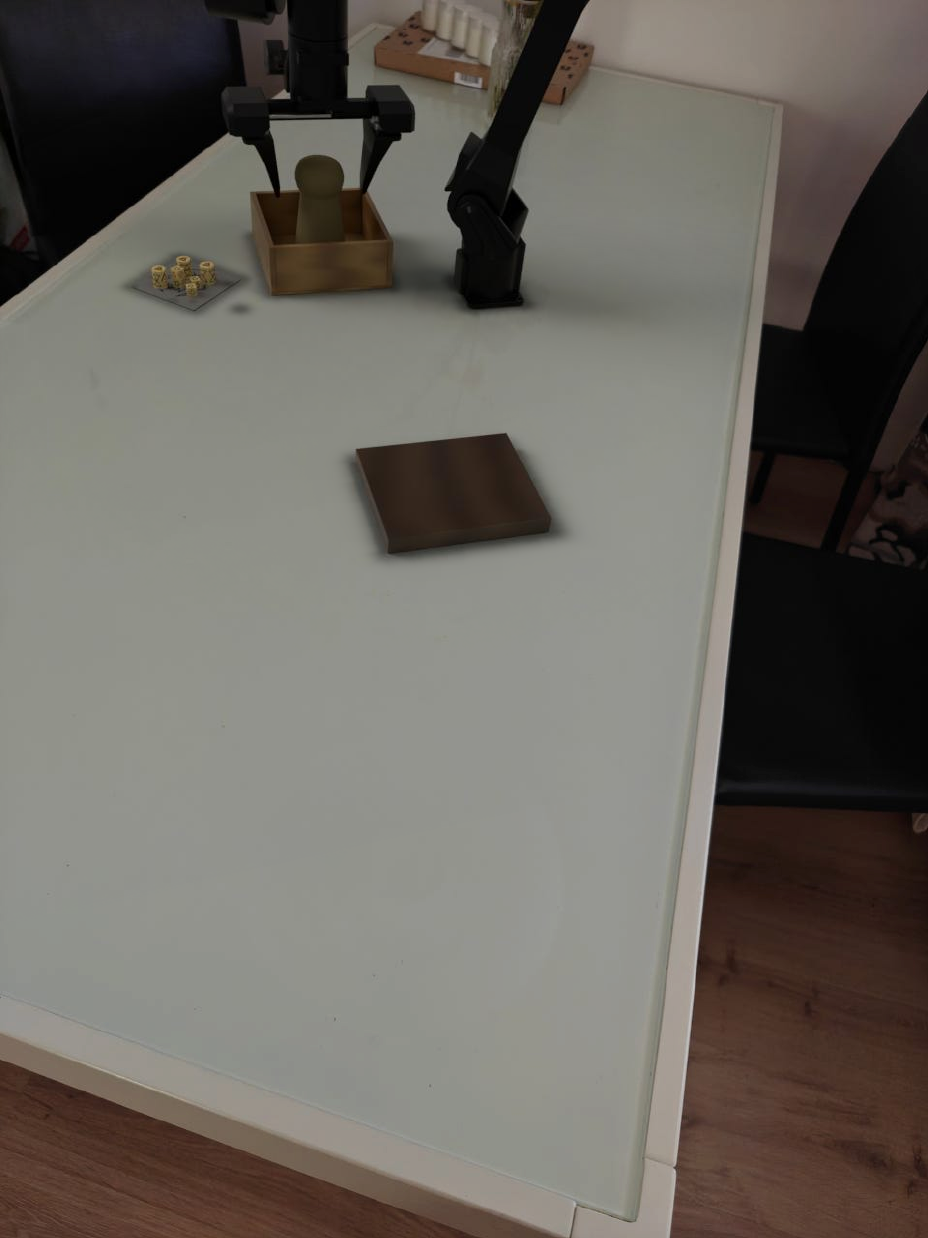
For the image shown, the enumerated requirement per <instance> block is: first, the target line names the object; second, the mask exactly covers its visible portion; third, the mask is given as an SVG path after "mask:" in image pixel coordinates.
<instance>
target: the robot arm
mask: <svg viewBox="0 0 928 1238" xmlns="http://www.w3.org/2000/svg"><path fill="white" fill-rule="evenodd" d="M590 1H591V0H543V1H542V3H541V5H540V7H539V10H538V13H537V14H536V17H535V19H534V21H533V24H532V27H531V29H530V32H529V34H528V36H527V38H526V40H525V42H524V45H523V48H522V50H521V52H520V55H519V58H518V59H517V62H516V65H515V67H514V69H513V72H512V74H511V76H510V78H509V81H508V84H507V86H506V88H505V91H504V93H503V95H502V97H501V100H500V103H499V105H498V107H497V110H496V112H495V115H494V117H493V119H492V121H491V124H490V126H489V128H488V129H487V130H486V132H485V133H484V134H483V136H482V137H480V136H478V135H477V134H476V133H475V132H473V131H470V132H469V134H468V135H467V138H466V139H465V141H464V144H463V145H462V147H461V149H460V150H459V153H458V157H457V161H456V165H455V167H454V169H453V171H452V173H451V174H450V177H449V179H448V180H447V183H446V185H445V187H444V189H443V190H444V192H445V193H447V192H448V193H449V195H448V197H447V202H446V211H447V213H448V214H449V217H450V220H451V221H452V223H453V224H454V225H455V226H456V228H458V229H459V231H460V235H461V244H460V245H461V247H458V248H457V249H456V251H455V261H454V272H453V276H452V281H453V285H454V287H455V289H456V290H457V292H458V294H459V295H460V296H461V297H462V299H463V301H464V302H465V304H466V306H467V308H470V309H477V308H478V309H479V308H492V307H505V306H506V307H507V306H508V307H509V306H520V305H524V304H525V297H524V296H523V295H522V293H521V292H520V288H521V282H522V274H523V269H524V262H525V253H526V248H527V244H526V242H525V240H524V239H523V237H522V236H521V235H522V232H523V229H524V226H525V223H526V221H527V218H528V215H529V212H530V210H529V209H530V208H529V207H528V206H527V205H526V203H525V202H524V201H523V199H522V197H521V196H520V195H519V194H518V192H517V191H516V189H514V183H515V179H516V175H517V171H518V167H519V164H520V163H519V162H520V158H521V154H522V150H523V146H524V142H525V139H526V138H527V135H528V133H529V130H530V128H531V126H532V124H533V122H534V119H535V117H536V115H537V113H538V110H539V108H540V106H541V104H542V102H543V100H544V97H545V95H546V93H547V90H548V89H549V87H550V84H551V82H552V80H553V78H554V75H555V73H556V71H557V70H558V66H559V64H560V62H561V60H562V58H563V55H564V53H565V51H566V49H567V46H568V44H569V42H570V40H571V37H572V35H573V33H574V31H575V29H576V27H577V24H578V22H579V20H580V17H581V15H582V13H583V11H584V10H585V8H586V7H587V6H588V4H589V2H590ZM203 3H204V6H205V9H206V11H207V12H208V14H209V15H210V16H212V17H216V18H222V19H228V20H233V21H240V22H246V23H247V22H248V23H253V24H258V25H266V26H271V25H272V24H273V22H274V21H275V19H276V16H277V15H279V16H281V15H283V13H284V12H285V9H286V17H287V19H286V20H287V49H285V45H284V40H282V39H263V41H262V48H263V49H262V51H263V64H264V65H263V66H264V73H265V76H267V77H271V76H272V77H273V76H274V77H276V76H277V77H278V76H279V77H280V76H281V77H282V78H283V87H284V90H285V92H286V93H287V94H289V98H266V96H265V94H264V91H263V88H262V86H226V87H225V88H224V89H223V91H222V92H221V97H220V99H221V110H222V111H221V112H222V117H223V120H224V122H225V123H224V124H225V126H226V128H227V131H228V134H229V136H231V137H235V138H241V140H242V143H243V144H244V145H246V146H253V147H254V148H255V150H256V152H257V154H258V156H259V157H260V159H261V161H262V163H263V165H264V168H265V170H266V173H267V176H268V179H269V182H270V184H271V187H272V191H274V193H275V196H276V198H280V191H281V182H280V174H279V168H278V161H277V154H276V153H277V152H276V147H275V141H274V137H273V135H272V133H271V130H270V128H271V122H273V121H274V122H275V121H276V122H279V121H282V122H283V121H326V120H327V121H330V120H332V121H333V120H362V133H363V135H362V147H361V158H360V166H359V167H360V168H359V188H360V192H361V194H366V192H367V191H368V190H369V187H370V185H371V184H372V181H373V179H374V177H375V175H376V172H377V170H378V168H379V166H380V164H381V162H382V161H383V159H384V157H385V156H386V154H387V152H389V149H390V148H391V146H392V145H393V143H394V142H400V141H402V138H403V134H411V133H413V132H415V129H416V128H415V127H416V108H415V104H414V103H413V102H412V100H411V99H410V97H409V95H408V94H407V93H406V91H405V90H404V89H403V88H402V87H401V85H400V84H368V85H367V86H366V89H365V95H364V97H349V66H350V53H349V0H203Z"/></svg>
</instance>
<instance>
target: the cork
mask: <svg viewBox="0 0 928 1238" xmlns="http://www.w3.org/2000/svg"><path fill="white" fill-rule="evenodd" d="M294 181H295V185H296V188H297V190H300V199H299V209H298V218H297V228H296V238H295V244H309V243H329V242H345V236H344V228H343V220H342V213H341V205H340V197H339V192H340V191H341V190H342V188H343V187H344V183H345V172H344V169H343V166H342V165H341V162H339V160H337V159H335V158H334V157H332V156H329V155H324V154H309V155H306V156H304V157H302V158H301V159H299V160H298V162H297V163H296V165H295V168H294Z"/></svg>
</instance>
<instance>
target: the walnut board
mask: <svg viewBox="0 0 928 1238" xmlns="http://www.w3.org/2000/svg"><path fill="white" fill-rule="evenodd" d="M355 464H356V468H357V470H358V473H359V476H360V479H361V482H362V485H363V488H364V490H365V493H366V496H367V499H368V502H369V504H370V507H371V510H372V513H373V515H374V518H375V521H376V524H377V527H378V530H379V533H380V535H381V538H382V541H383V544H384V546H385V549H386V552H387V554H394V553H401V552H409V551H415V550H424V549H430V548H431V549H432V548H439V547H445V546H446V547H447V546H453V545H461V544H469V543H475V542H482V541H490V540H497V539H504V538H511V537H519V536H525V535H526V536H527V535H534V534H535V535H536V534H541V533H542V534H543V533H549V532H550V529H551V523H552V517H551V514H550V513H549V511H548V508H547V507H546V505H545V502H544V501H543V499H542V497H541V496H540V493H539V492H538V490H537V488H536V486H535V484H534V483H533V480H532V478H531V477H530V475H529V472H528V471H527V469H526V467H525V465H524V463H523V462H522V459H521V458H520V456H519V454H518V452H517V450H516V448H515V446H514V444H513V442H512V440H511V438H510V437H509V435H508V433H507V432H501V433H492V434H482V435H473V436H464V437H455V438H454V437H453V438H445V439H437V440H435V439H434V440H426V441H415V442H408V443H407V442H406V443H398V444H397V443H396V444H389V445H388V444H387V445H379V446H372V447H371V446H370V447H362V448H361V447H360V448H355Z"/></svg>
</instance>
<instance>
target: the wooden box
mask: <svg viewBox="0 0 928 1238" xmlns="http://www.w3.org/2000/svg"><path fill="white" fill-rule="evenodd" d="M339 197H340V205H341V213H342V220H343V228H344V236H345V242H329V243H309V244H295V238H296V228H297V218H298V209H299V199H300V190H299V189H287V190H283V189H282V190H280V198H276V196H275V193H274V190H260V191H259V190H255V191H254V190H253V191H249V201H250V202H249V203H250V214H251V233H252V239H253V243H254V245H255V249H256V252H257V255H258V258H259V261H260V264H261V267H262V270H263V273H264V277H265V279H266V283H267V286H268V289H269V292H270V295H271V296H282V295H298V294H313V293H314V294H315V293H329V292H344V291H346V292H347V291H360V290H361V291H362V290H374V289H375V290H376V289H377V290H378V289H391V288H392V287H393V264H394V244H395V243H394V240H393V238H392V236H391V234H390V232H389V230H388V228H387V226H386V224H385V222H384V221H383V219H382V216H381V214H380V212H379V211H378V208H377V207H376V204H375V202H374V201H373V199H372V197H371V195H370V193H369V191H368V190H367V192H366V194H361V192H360V187H344V188H343V187H342V190H341V191H340V192H339Z"/></svg>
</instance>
